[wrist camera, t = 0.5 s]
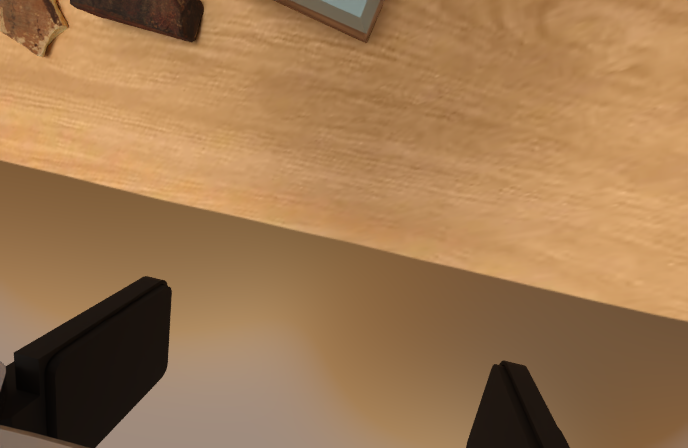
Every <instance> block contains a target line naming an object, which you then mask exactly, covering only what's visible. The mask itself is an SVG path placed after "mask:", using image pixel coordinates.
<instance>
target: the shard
mask: <svg viewBox="0 0 688 448" xmlns="http://www.w3.org/2000/svg"><path fill="white" fill-rule="evenodd" d="M67 28H68V24H67V22H66V20H65V19H64V17H63V16H62V13H61V12H60V10H59V8H58V6H57V3H56V0H0V30H1V32H2V33H4V34H5V35H7V36H9V37H10V38H12V39H14V40H16V41H17V42H18V43H20V44H22V45H23V46H25V47H26V48H28V49H29V50H30V51H31V52H33V53H34V54H35V55H37V56H41V57H44V55H45V52H46V48H47V46H48V44H50V43H51V41H52V40H53V39H54V38H55V37H56V36H58V35H59V34H60V33H62V32H63V31H64V30H66V29H67Z"/></svg>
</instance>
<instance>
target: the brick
mask: <svg viewBox="0 0 688 448" xmlns="http://www.w3.org/2000/svg"><path fill="white" fill-rule="evenodd" d="M70 4H71V5H73V6H74V7H76V8H77V9H80V10H83V11H86V12H88V13H90V14H93V15H96V16H98V17H101V18H107V19H110V20H114V21H117V22H120V23H124V24H127V25H131V26H135V27H138V28H142V29H145V30H149V31H153V32H156V33H160V34H164V35H167V36H170V37H174V38H178V39H182V40H185V41H189V42H193V41H195V39H196V35H197V31H198V27H199V23H200V19H201V15H202V14H203V5H202V3H201V1H200V0H70Z"/></svg>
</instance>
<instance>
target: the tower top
mask: <svg viewBox="0 0 688 448" xmlns="http://www.w3.org/2000/svg"><path fill="white" fill-rule="evenodd" d="M291 1H293V2H295V3H298V4H300V5H302V6H304V7H307V8H309V9H311V10H314V11H316V12H318V13H320V14H323V15H325V16H327V17H329V18H332V19H334V20H336V21H338V22H341V23H343V24H345V25H347V26H350V27H352V28H354V29H356V30H359V31H361V32H363V33H365V34H367V32H368V29H369V27H370V24H371V22H372V19H373V17H374V14H375V12H376V9H377V7H378V4H379V2H380V0H291Z"/></svg>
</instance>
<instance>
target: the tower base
mask: <svg viewBox="0 0 688 448" xmlns="http://www.w3.org/2000/svg"><path fill="white" fill-rule="evenodd" d="M274 1H276V2H278V3H281V4H283V5H285V6H287V7H289V8H291V9H294V10H296V11H298V12H300V13H302V14H304V15H307V16H309V17H311V18H313V19H315V20H317V21H319V22H322V23H324V24H326V25H328V26H330V27H332V28H335V29H337V30H339V31H341V32H343V33H345V34H348V35H350V36H352V37H354V38H356V39H358V40H360V41H363V42H365V43H367V41H368V38H369V36H370V34H371V31H372V29H373V27H374V24H375V22H376V19H377V17H378V15H379V12H380V10H381V8H382V5H383V3H384V0H380V2H379V4H378V7H377V9H376V12H375V14H374V17H373V19H372V22H371V24H370V27H369V29H368V32H367V34H365V33H363V32H361V31H359V30H356V29H354V28H352V27H350V26H347V25H345V24H343V23H341V22H338V21H336V20H334V19H332V18H329V17H327V16H325V15H323V14H320V13H318V12H316V11H314V10H311V9H309V8H307V7H304V6H302V5H300V4H298V3H295V2H293V1H291V0H274Z"/></svg>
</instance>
